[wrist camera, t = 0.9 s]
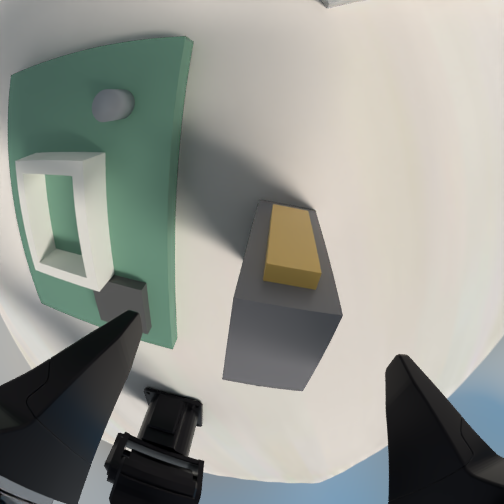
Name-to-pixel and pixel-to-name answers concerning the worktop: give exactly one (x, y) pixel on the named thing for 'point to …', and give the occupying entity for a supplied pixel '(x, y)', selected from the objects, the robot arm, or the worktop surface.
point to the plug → (282, 301)
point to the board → (101, 179)
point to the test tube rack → (337, 2)
